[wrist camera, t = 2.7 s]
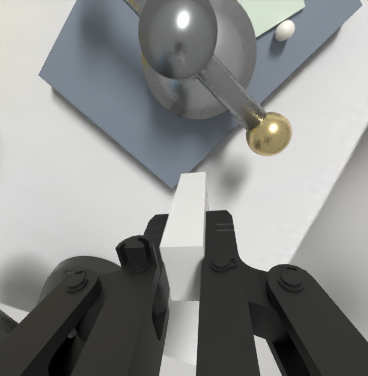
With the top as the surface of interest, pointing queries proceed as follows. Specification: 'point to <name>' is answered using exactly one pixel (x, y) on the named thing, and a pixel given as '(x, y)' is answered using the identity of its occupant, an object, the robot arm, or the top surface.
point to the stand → (140, 92)
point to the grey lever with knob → (206, 65)
